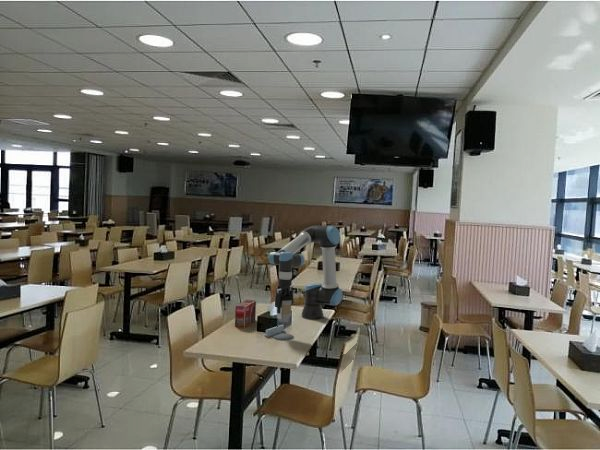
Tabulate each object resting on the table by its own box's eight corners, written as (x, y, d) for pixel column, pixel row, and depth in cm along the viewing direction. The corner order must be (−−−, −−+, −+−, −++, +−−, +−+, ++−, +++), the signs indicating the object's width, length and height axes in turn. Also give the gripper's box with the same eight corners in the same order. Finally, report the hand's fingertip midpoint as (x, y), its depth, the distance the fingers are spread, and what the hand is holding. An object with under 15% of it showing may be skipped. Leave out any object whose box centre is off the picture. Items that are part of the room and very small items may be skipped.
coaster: (281, 333, 283) (281, 332, 283) (297, 337, 276) (297, 336, 276) (268, 337, 273) (268, 336, 273) (285, 341, 266) (285, 340, 266)
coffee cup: (288, 323, 268) (289, 297, 267) (273, 322, 271) (274, 296, 270) (294, 320, 277) (295, 295, 276) (279, 318, 280) (280, 293, 279)
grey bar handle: (280, 330, 288) (281, 324, 288) (284, 331, 286) (285, 325, 286) (264, 336, 275) (264, 329, 275) (268, 337, 273) (268, 330, 273)
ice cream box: (244, 328, 292) (245, 306, 292) (234, 327, 294) (235, 305, 293) (255, 320, 312) (255, 300, 311) (246, 319, 313) (246, 299, 313)
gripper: (290, 275, 283) (289, 313, 284) (268, 279, 266) (267, 319, 268) (300, 277, 279) (299, 315, 280) (279, 281, 262) (277, 321, 263)
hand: (283, 317), depth 274 cm, fingers closed on coffee cup, 8 cm apart
